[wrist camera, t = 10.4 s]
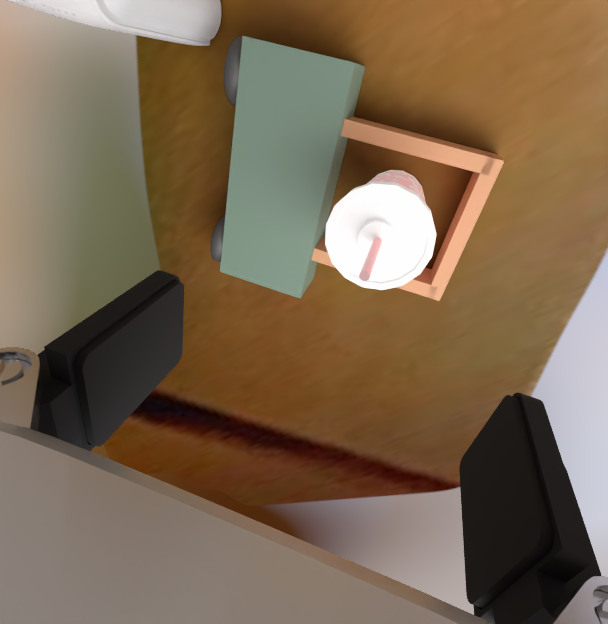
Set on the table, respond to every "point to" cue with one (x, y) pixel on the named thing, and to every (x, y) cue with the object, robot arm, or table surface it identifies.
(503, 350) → the table surface
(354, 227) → the beverage cup
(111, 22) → the photo printer
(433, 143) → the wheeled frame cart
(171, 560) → the robot arm
